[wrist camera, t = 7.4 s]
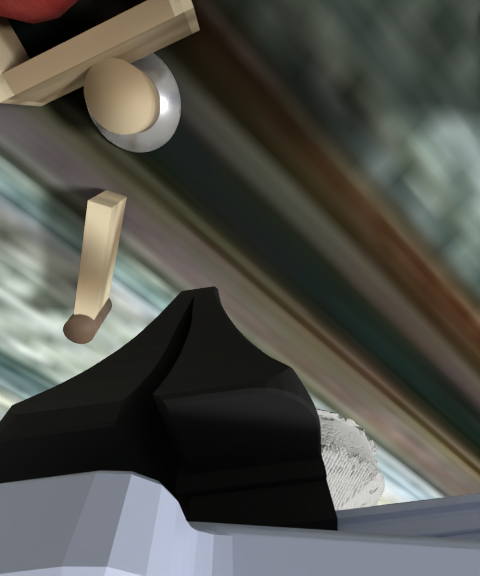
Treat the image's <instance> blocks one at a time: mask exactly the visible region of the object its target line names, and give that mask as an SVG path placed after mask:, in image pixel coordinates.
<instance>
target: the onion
mask: <svg viewBox="0 0 480 576" xmlns="http://www.w3.org/2000/svg"><path fill="white" fill-rule="evenodd" d="M77 1H78V0H0V16H2V17H6V18H10V19H14V20H19V21H23V22H27V23H32V24H36V23H40V22H44V21H48V20H52V19H57V18H59V17H60V16H61V15H63V14H64V13H65V12H66V11H67V10H68V9H69V8H70V7H72V6H73V5H74V4H75V3H76V2H77Z"/></svg>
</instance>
